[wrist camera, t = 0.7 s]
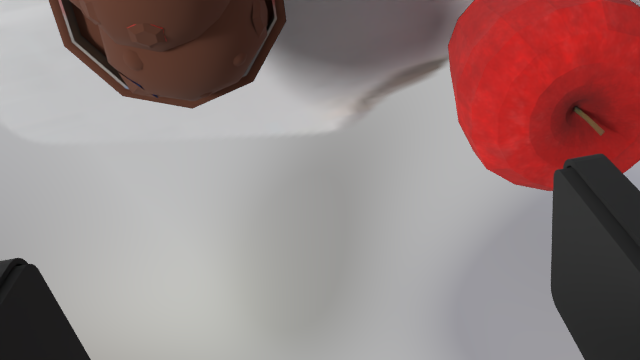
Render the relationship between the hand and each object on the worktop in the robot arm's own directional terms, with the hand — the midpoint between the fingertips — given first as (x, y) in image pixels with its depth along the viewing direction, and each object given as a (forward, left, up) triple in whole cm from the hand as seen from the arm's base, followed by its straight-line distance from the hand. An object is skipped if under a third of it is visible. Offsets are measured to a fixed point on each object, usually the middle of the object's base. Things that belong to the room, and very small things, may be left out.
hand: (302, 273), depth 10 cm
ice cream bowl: (0, -6, -29) cm, 29 cm away
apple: (+3, +14, -29) cm, 32 cm away
